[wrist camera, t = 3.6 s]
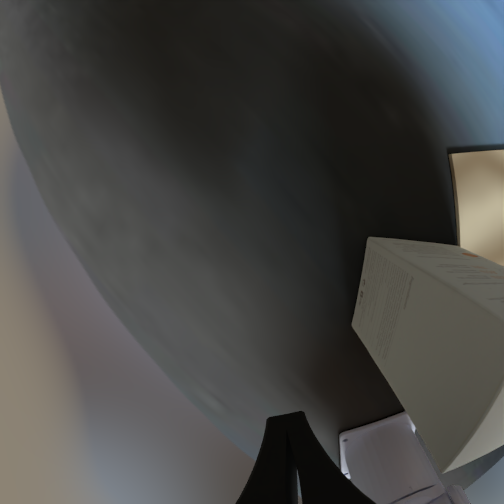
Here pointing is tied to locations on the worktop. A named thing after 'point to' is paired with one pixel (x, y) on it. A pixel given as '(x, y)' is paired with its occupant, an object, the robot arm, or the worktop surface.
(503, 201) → the board
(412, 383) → the small box
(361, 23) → the worktop surface
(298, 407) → the worktop surface
